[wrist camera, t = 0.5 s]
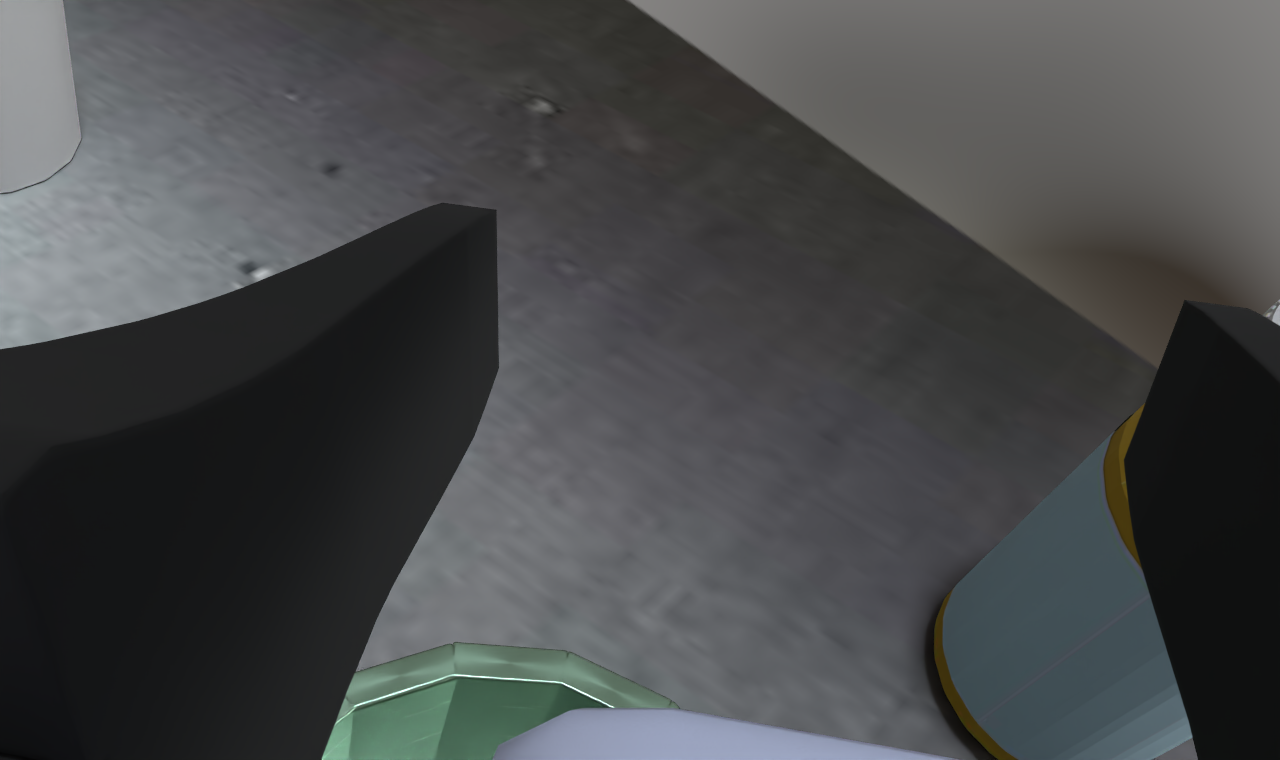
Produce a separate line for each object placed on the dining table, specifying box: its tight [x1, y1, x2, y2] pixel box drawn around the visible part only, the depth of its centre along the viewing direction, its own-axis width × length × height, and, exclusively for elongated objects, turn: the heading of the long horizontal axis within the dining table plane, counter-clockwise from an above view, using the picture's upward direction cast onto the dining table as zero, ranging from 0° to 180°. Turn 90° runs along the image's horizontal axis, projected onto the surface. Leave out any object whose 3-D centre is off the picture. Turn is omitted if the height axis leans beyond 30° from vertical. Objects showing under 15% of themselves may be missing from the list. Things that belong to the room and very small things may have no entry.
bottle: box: [934, 300, 1280, 760], centre depth 28 cm, size 7×7×15 cm
